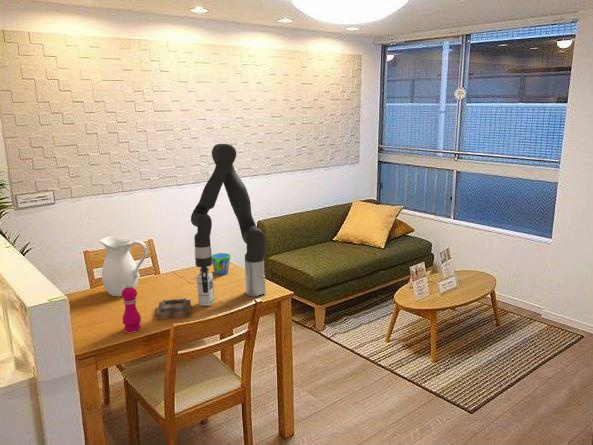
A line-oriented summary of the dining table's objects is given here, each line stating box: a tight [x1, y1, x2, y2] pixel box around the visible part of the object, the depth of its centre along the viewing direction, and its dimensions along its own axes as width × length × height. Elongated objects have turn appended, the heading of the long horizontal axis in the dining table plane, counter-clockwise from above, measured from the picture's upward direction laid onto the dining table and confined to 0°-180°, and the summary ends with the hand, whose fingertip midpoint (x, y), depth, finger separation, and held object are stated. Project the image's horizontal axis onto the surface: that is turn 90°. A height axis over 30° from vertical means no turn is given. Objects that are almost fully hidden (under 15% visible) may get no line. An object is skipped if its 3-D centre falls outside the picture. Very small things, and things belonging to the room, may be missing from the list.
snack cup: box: [212, 252, 231, 276], centre depth 270 cm, size 16×10×10 cm
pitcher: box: [98, 235, 148, 297], centre depth 240 cm, size 24×17×28 cm
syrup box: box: [196, 271, 215, 307], centre depth 227 cm, size 6×6×14 cm
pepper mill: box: [121, 284, 142, 333], centre depth 201 cm, size 7×7×20 cm
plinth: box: [156, 298, 192, 321], centre depth 220 cm, size 14×14×4 cm
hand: (205, 289), depth 227 cm, fingers closed on syrup box, 7 cm apart
